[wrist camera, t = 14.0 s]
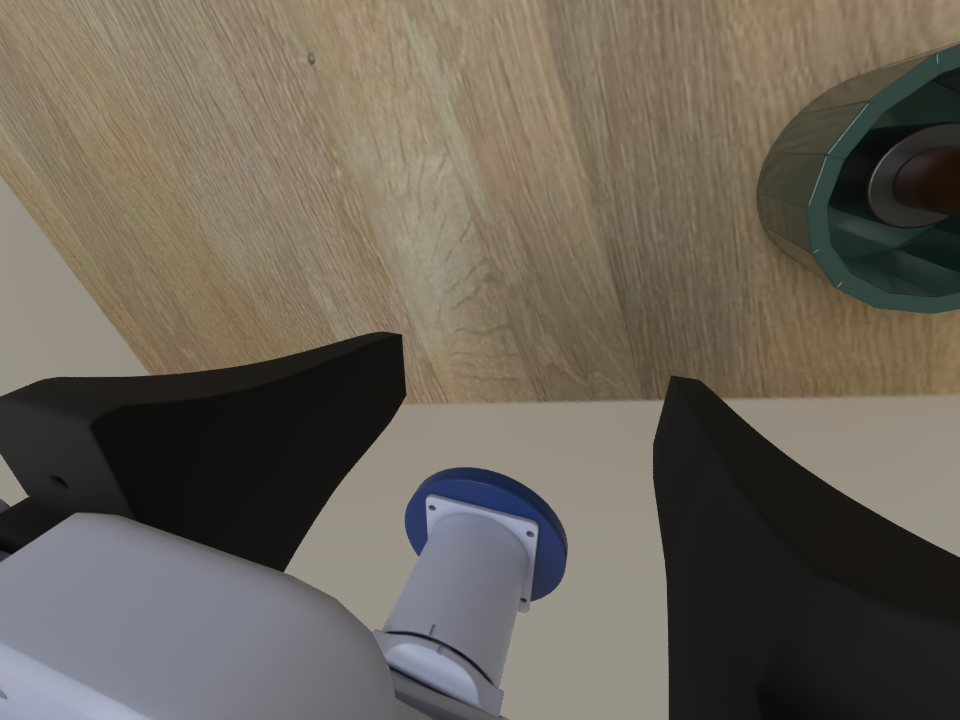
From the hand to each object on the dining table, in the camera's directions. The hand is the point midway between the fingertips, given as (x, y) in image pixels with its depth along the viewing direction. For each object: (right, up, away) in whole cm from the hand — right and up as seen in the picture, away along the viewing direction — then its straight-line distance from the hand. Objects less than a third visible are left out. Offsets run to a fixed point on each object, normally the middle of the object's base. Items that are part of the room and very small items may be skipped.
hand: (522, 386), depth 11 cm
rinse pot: (+13, +7, +4) cm, 15 cm away
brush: (+13, +7, +3) cm, 15 cm away
